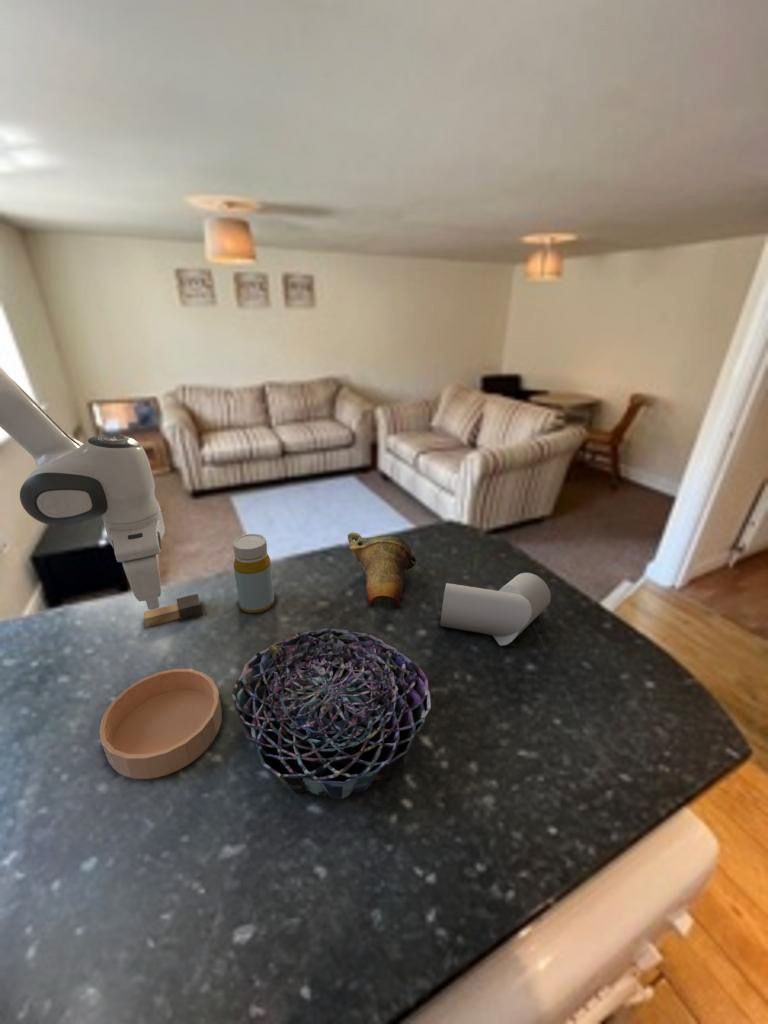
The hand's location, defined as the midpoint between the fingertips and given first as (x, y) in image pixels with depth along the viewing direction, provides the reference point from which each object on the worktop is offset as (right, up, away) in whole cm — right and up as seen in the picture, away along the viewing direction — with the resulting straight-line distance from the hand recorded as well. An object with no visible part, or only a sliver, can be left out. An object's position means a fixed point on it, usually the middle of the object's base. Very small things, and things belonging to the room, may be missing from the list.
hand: (152, 592), depth 84 cm
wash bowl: (+12, -17, -18) cm, 28 cm away
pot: (+43, -1, +18) cm, 46 cm away
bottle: (+17, -4, +9) cm, 20 cm away
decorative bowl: (+36, -17, -18) cm, 43 cm away
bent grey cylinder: (+64, -7, +6) cm, 65 cm away
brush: (+1, -6, +4) cm, 7 cm away
